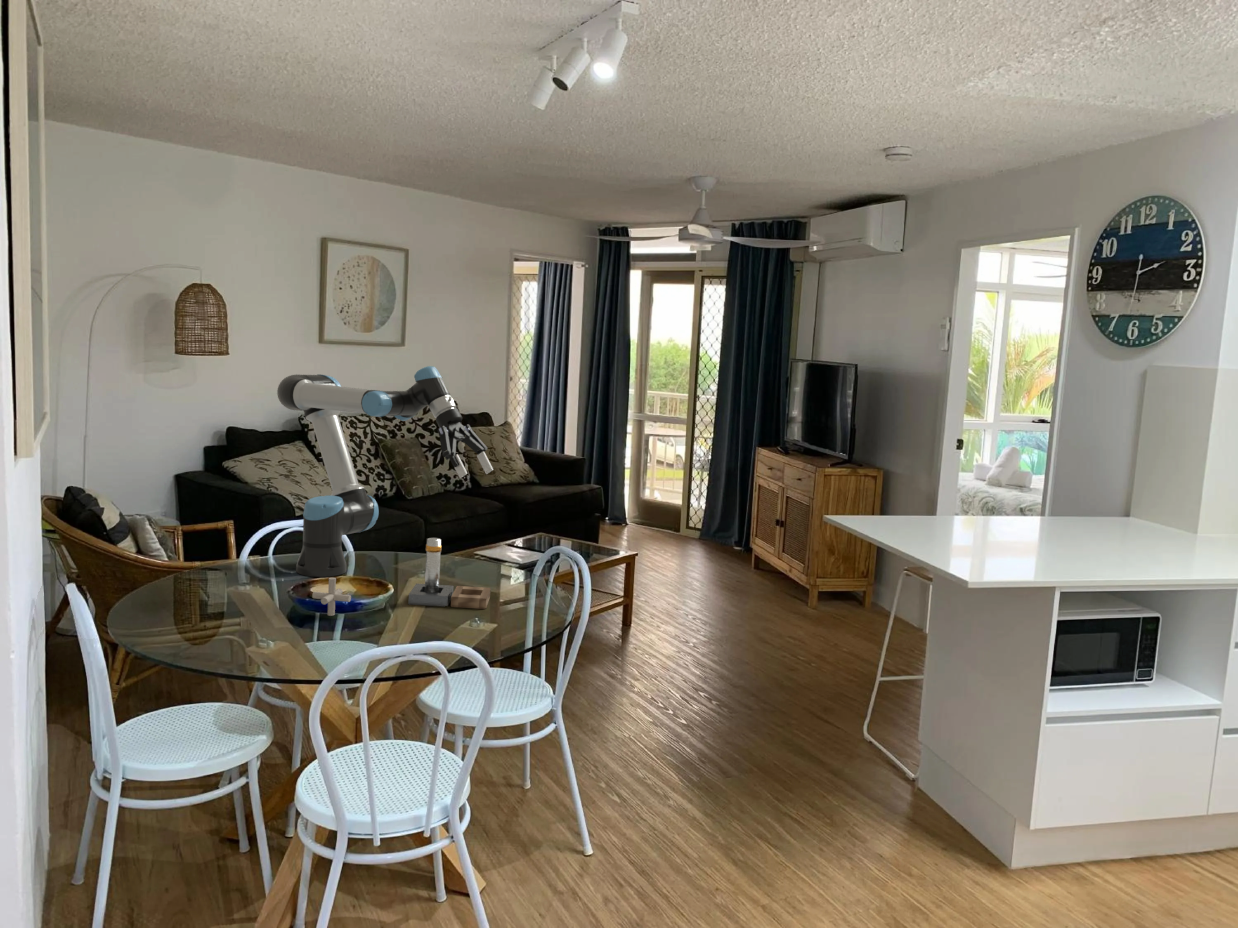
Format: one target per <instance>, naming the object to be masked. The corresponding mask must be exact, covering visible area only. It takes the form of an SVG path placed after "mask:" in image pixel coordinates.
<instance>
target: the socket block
mask: <svg viewBox="0 0 1238 928" xmlns="http://www.w3.org/2000/svg"><path fill="white" fill-rule="evenodd" d="M453 592H454V585H449V584H448V585H446V584H439V593H430V592H425V583H415V584H414V586H413V587H412V589H410V592H409V593H408V600H407V601H408V603H407V604H408V605H414V606H430V607H445V606H447V607H448V606H449V604H450V603H451V596H452V594H453Z"/></svg>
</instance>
